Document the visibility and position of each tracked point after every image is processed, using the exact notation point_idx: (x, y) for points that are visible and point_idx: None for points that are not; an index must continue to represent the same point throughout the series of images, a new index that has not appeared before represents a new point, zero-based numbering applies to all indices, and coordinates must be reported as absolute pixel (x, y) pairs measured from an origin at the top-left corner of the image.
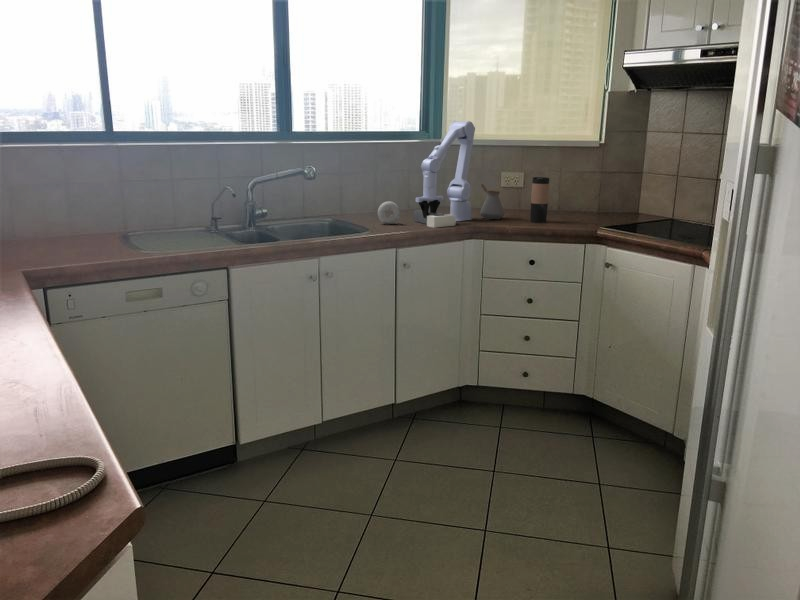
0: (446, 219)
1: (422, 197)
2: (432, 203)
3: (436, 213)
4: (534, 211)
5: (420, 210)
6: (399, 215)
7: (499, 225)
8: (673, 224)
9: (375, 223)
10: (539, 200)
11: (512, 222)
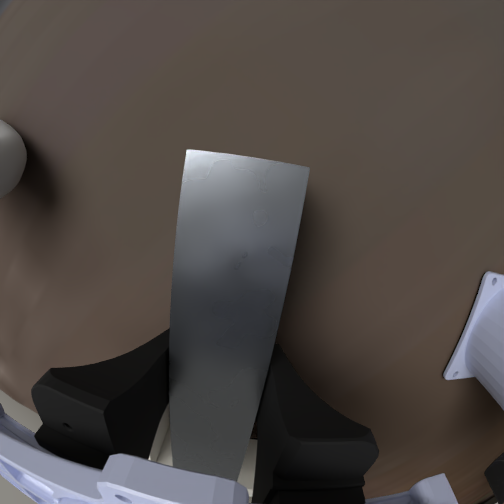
0: None
1: (27, 489)
2: (264, 474)
3: (195, 459)
4: (498, 487)
5: (245, 224)
6: (2, 193)
7: (404, 490)
8: None
9: (3, 85)
10: None
11: (482, 455)
